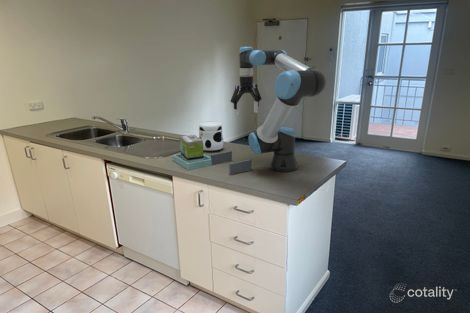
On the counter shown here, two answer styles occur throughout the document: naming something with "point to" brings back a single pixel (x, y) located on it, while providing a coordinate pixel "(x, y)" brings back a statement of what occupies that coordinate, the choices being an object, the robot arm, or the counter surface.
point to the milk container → (211, 136)
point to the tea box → (191, 148)
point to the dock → (233, 167)
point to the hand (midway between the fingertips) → (246, 113)
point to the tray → (194, 165)
